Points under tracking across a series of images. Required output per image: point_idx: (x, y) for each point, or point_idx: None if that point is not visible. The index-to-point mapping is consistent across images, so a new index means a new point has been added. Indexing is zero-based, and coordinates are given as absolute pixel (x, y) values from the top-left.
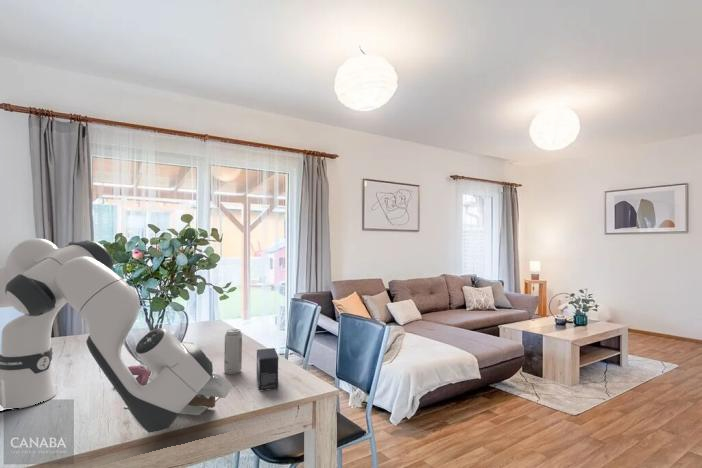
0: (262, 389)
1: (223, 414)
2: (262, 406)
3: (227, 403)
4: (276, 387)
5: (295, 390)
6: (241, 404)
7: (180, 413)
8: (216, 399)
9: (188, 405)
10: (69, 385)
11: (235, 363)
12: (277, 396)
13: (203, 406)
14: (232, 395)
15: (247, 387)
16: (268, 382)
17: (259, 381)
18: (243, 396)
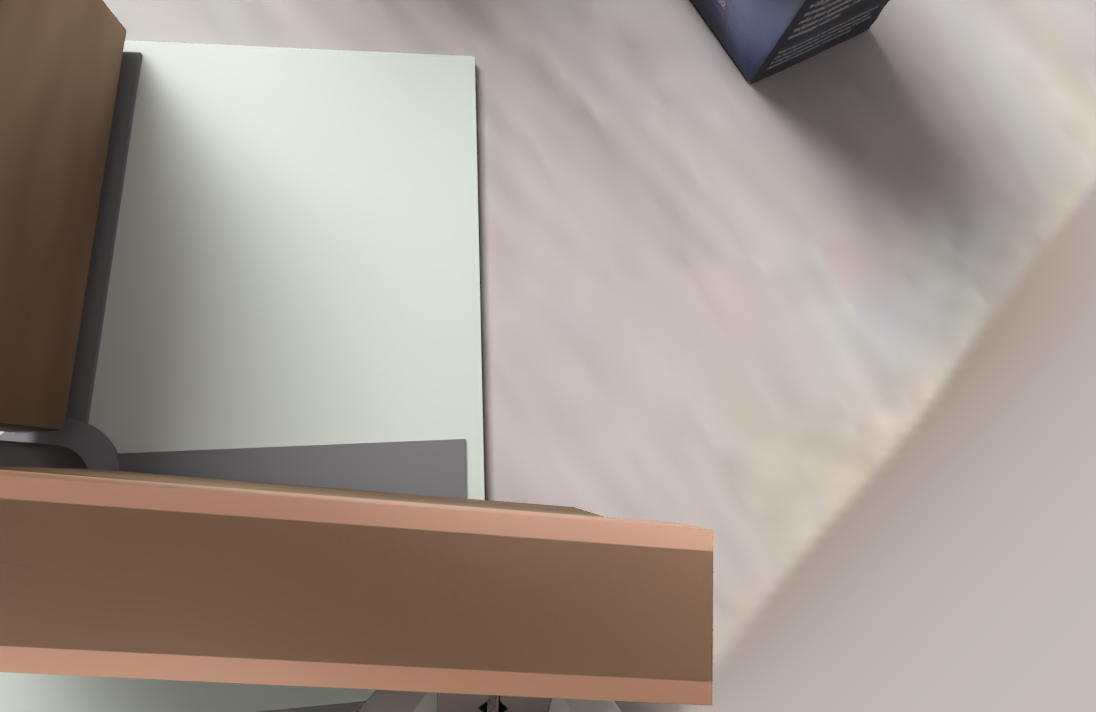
0: (774, 68)
1: None
2: (937, 355)
3: (618, 366)
4: (868, 24)
5: (1005, 41)
6: (750, 358)
7: (262, 705)
8: (480, 327)
9: None
10: None
11: None
12: (941, 159)
13: None
14: (571, 203)
15: (614, 36)
16: (850, 1)
17: (793, 12)
18: (678, 206)
